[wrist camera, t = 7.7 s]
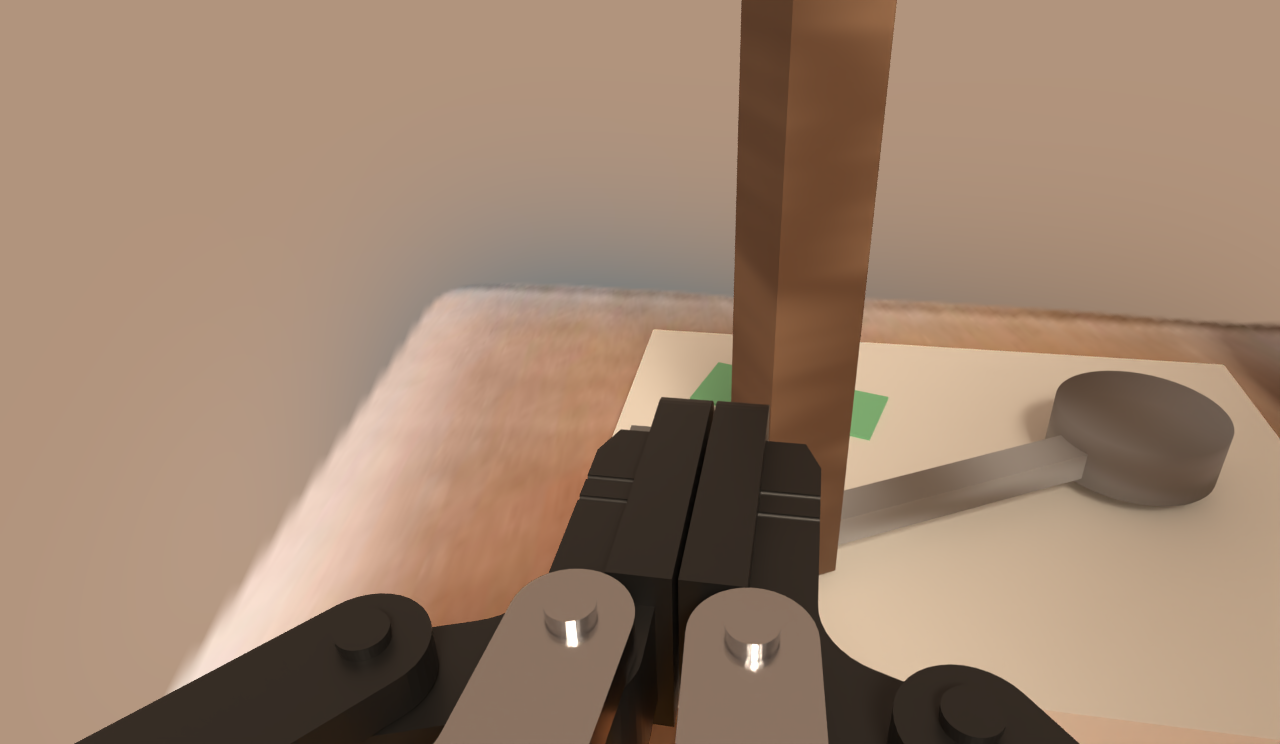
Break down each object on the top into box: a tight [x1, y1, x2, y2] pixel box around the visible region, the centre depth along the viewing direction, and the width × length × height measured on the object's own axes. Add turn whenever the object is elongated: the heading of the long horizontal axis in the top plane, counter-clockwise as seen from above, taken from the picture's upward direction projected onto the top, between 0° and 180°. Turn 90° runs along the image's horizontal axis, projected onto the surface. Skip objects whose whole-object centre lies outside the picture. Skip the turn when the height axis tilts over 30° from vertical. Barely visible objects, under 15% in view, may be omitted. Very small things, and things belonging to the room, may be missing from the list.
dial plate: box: [612, 329, 1280, 744], centre depth 26 cm, size 20×16×2 cm
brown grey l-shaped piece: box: [731, 0, 1234, 575], centre depth 20 cm, size 15×4×16 cm, turn 109°
